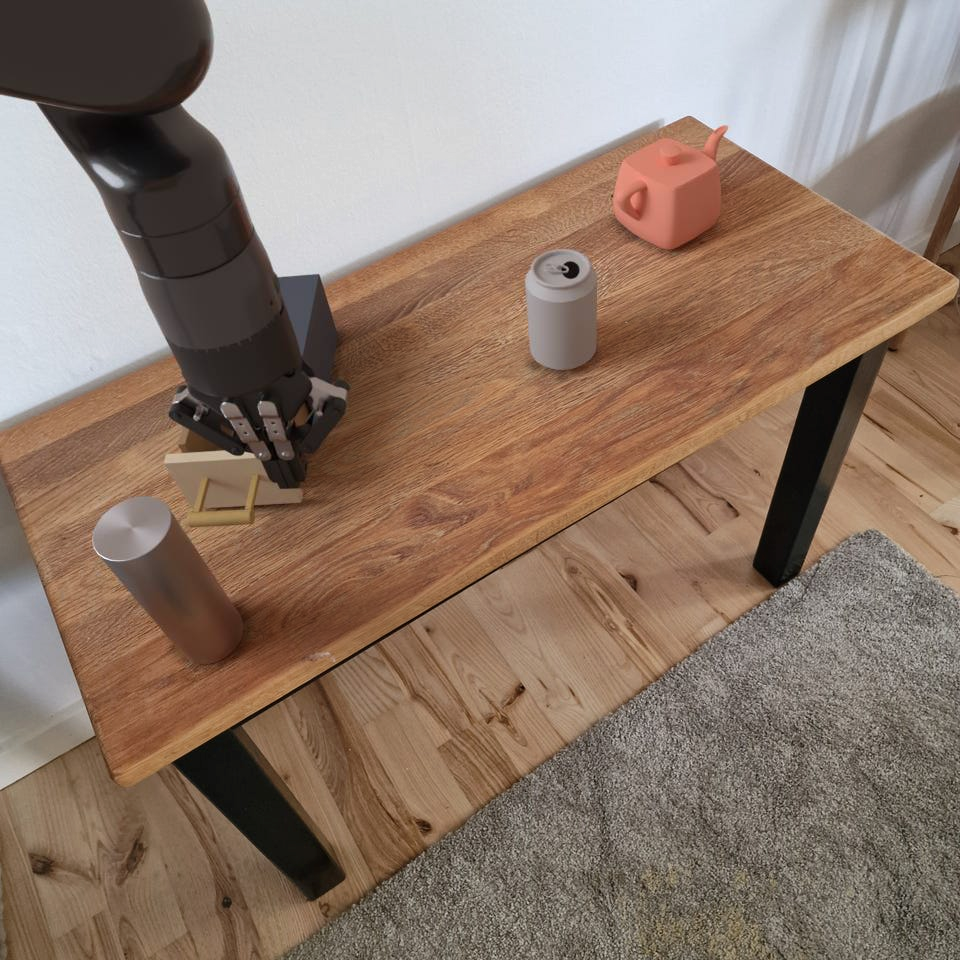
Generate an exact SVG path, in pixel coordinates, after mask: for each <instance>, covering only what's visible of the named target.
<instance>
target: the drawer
mask: <svg viewBox="0 0 960 960" xmlns="http://www.w3.org/2000/svg"><path fill="white" fill-rule="evenodd" d="M309 414H310V406H309V404H308V401H307V399H306V401H305V402H304V404H303V405H302V407H301V409H300V410H299V412H298V413H297V415H296V419H297V423H298V426H300V425H303V424H304V422H305V420H306V419H307V417H308V416H309ZM220 428H221V430H222V431H224V432H226V433H227V434H229V435H232V431H231V430H230V429H228V428H226V427H225V426H223V425H220ZM177 446H178V448H179V450H180V452H179V453H166V455H165V457H164V460H163V465H164V467H165V469H166V470H167V472H168V473H169V474H170V476H171V478H172V480H173V481H174V483H175V484H176V486H177V488H178V489H179V491H180V493H181V494H182V495H183V497H184V498H185V500H186V502H187V503H188V505H189V507H190V508H191V509H192V510H193V511H192V512H188V514H187V517H186V521H187V525H188V527H189V528H191V529H192V528H208V527H229V526H243V525H254V523H255V521H256V514H255V513H256V512H255V511H254V508H255V506H264V505H267V506H268V505H280V504H281V505H283V504H297V503H298V504H301V503H302V500H303V495H304V493H303V490H302V488H301V487H300V488H299V489H280V488H279V486H278V484H277V483H273V482H272V481H271V480H270V479H269V478H268V476H267V473H266V471H265V469H264V467H263V465H262V462H261V460H259V459H257V458H256V457H255V455H254V454H252V453H248V452H244V454H243V455H241V456H235V455H232V454H230V453H229V452H227V451H225V450H223V449H222V448H220V447H218V446H216V445H215V444H213V443H211V442H210V441H208V440H206V439H204V438H203V437H201V436H199V435H197V434H196V433H194V432H192V431H190V430H189V429H187V428H185V427H184V426H182V428H181V431H180V436H179V438H178V442H177ZM230 507H244V509H229V510H228V509H227V510H213V511H212V510H211V511H203V509H212V508H213V509H214V508H215V509H216V508H230Z"/></svg>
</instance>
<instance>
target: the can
mask: <svg viewBox="0 0 960 960" xmlns="http://www.w3.org/2000/svg"><path fill="white" fill-rule="evenodd" d="M596 271H597V270H595V268H594V267H593V266H592V263H591V261H590V259H589V258H588V257H587V256H586V255H585V254H584V253H582V252H580V251H578V250H574V249H571V248H558V249H551V250H548V251H546V252H543V253H541V254H540V255H538V256H537V257H535V258H534V260H533V261H532V263H531V264H530V269H529V270H528V272H527V273H526V275H525V279H524V287H525V302H526V313H527V327H528V341H529V342H528V343H529V351H530V356H532V358H533V359H534V360H535V361H536V363H537V364H540V365H541V366H543V367H545V368H548V369H552V370H555V371H568V370H569V371H570V370H574V369H577V368H578V367H580V366H583V365H585V364H586V363H587V362H588V361H590V360H591V359H592V358H593V357H594V355H595V353H596V351H597V341H598V339H597V336H598V335H597V333H598V328H597V327H598V326H597V325H598V274H597V272H596Z"/></svg>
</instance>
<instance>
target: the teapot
mask: <svg viewBox="0 0 960 960" xmlns="http://www.w3.org/2000/svg"><path fill="white" fill-rule="evenodd" d="M728 130H729V126H728V125H726V124H725V125H721V126H718V127H717V128H716V129H715V130H713V132H712V133H711V135H710V136H709V137H708V139H707V141H706V142H705V144H704V147H703V148H702V151H699V150H698V149H696V148H693V147H692V146H690V145H687V144H685V143H683V142H681V141H678V140H675V139H674V138H673V139H672V138H669V137H662V138H661V139H657V140H656V141H654V142H652V143H651V144H648V145H646V146H644V147H643V148H641V149H639V150H637V151H635V152H633V153H632V154H630V155H629V156H627V157H626V158H624V159H623V160H622V163H621V165H620V169H619V171H618V175H617V178H616V181H615V187H614V192H613V197H612V198H613V200H612V208H613V214H614V216H615V218H616V220H617V221H618V223H620V224H621V225H622V226H623V227H625V229H627V230H628V231H629V232H630V233H632V234H634V235H635V236H636V237H638V238H640V239H642V240H643V241H646V242H648V243H650V244H652V245H654V246H656V247H658V248H661V249H664V250H669V251H670V250H671V251H672V250H674V249H677V248H679V247H680V246H682V245H684V244H686V243H688V242H690V241H692V240H694V239H695V238H697V237H698V236H700V235H701V234H704V233H705V232H707V231H708V230H709V229H711V228H712V227H713V226H714V225H715V224H716V222H717V220H718V218H719V216H720V214H721V208H722V186H721V178H720V172H719V166H718V163H717V155H718V149H719V146H720V143H721V141H722V138H723V137H724V135H726V133H727V131H728Z"/></svg>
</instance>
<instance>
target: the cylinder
mask: <svg viewBox="0 0 960 960" xmlns="http://www.w3.org/2000/svg"><path fill="white" fill-rule="evenodd" d="M94 526H95V527H94V529H93V532H92V537H91V539H92V541H91V543H92V547H93V549H94V551H95V553H96V554H97V555H98V557H100V559H101V561H103V562H104V563H105V565H106V566H107V567H108V568H109V569H110V571H111V572H112V573H113V574H114V576H115V577H116V578H117V579H118V580H119V582H120V583H121V584H122V585H123V586H124V587H125V589H126V590H127V591H128V593H130V594H131V595H132V597H133V598H134V599H135V601H136V602H137V603H138V604H139V605H140V606H141V608H142V609H143V610H144V611H145V612H146V613H147V614H148V616H149V617H150V618H151V619H152V621H153V622H154V623H155V625H157V626H158V628H159V629H160V631H162V633H163V634H164V635H165V636H166V637H167V639H168V640H169V641H170V642H171V643H172V645H173V646H174V647H175V648H176V650H178V652H179V653H180V654H181V655H182V656H183V657H184V659H186V660H187V661H189V662H190V663H192V664H197V665H209V664H215V663H217V662H220V661H222V660H224V659H226V658H227V657H228V656H229V655H230V654H232V653H233V652H234V651H235V649H236V648H237V647H238V645H239V644H240V642H241V640H242V637H243V635H244V628H245V626H244V624H245V623H244V620H243V618H242V616H241V614H240V612H239V611H238V610H237V608H236V606H235V605H234V603H233V602H232V600H231V599H230V597H229V596H228V594H227V593H226V591H225V589H224V588H223V587H222V585H221V584H220V582H219V580H218V579H217V577H216V576H215V575H214V573H213V572H212V570H211V569H210V567H209V566H208V564H207V563H206V561H205V559H204V558H203V556H202V555H201V554H200V552H199V551H198V549H197V547H196V546H195V544H194V543H193V542H192V540H191V539H190V537H189V536H188V534H187V532H186V531H185V529H184V528H183V527H182V524H180V522H179V520H178V519H177V517H176V516H175V514H174V513H173V512H172V510H171V509H170V506H168V504H167V503H166V502H164V501H163V500H161V499H159V498H157V497H154V496H148V495H147V496H146V495H142V496H135V497H130V498H127V499H125V500H122V501H120V502H119V503H116V504H115V505H113V506H112V507H111V508H109V509H108V510H107V511H106V512H105V513H104V514H102V516H101V517H100V519H98V521H97V523H96V524H95V525H94Z"/></svg>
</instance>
